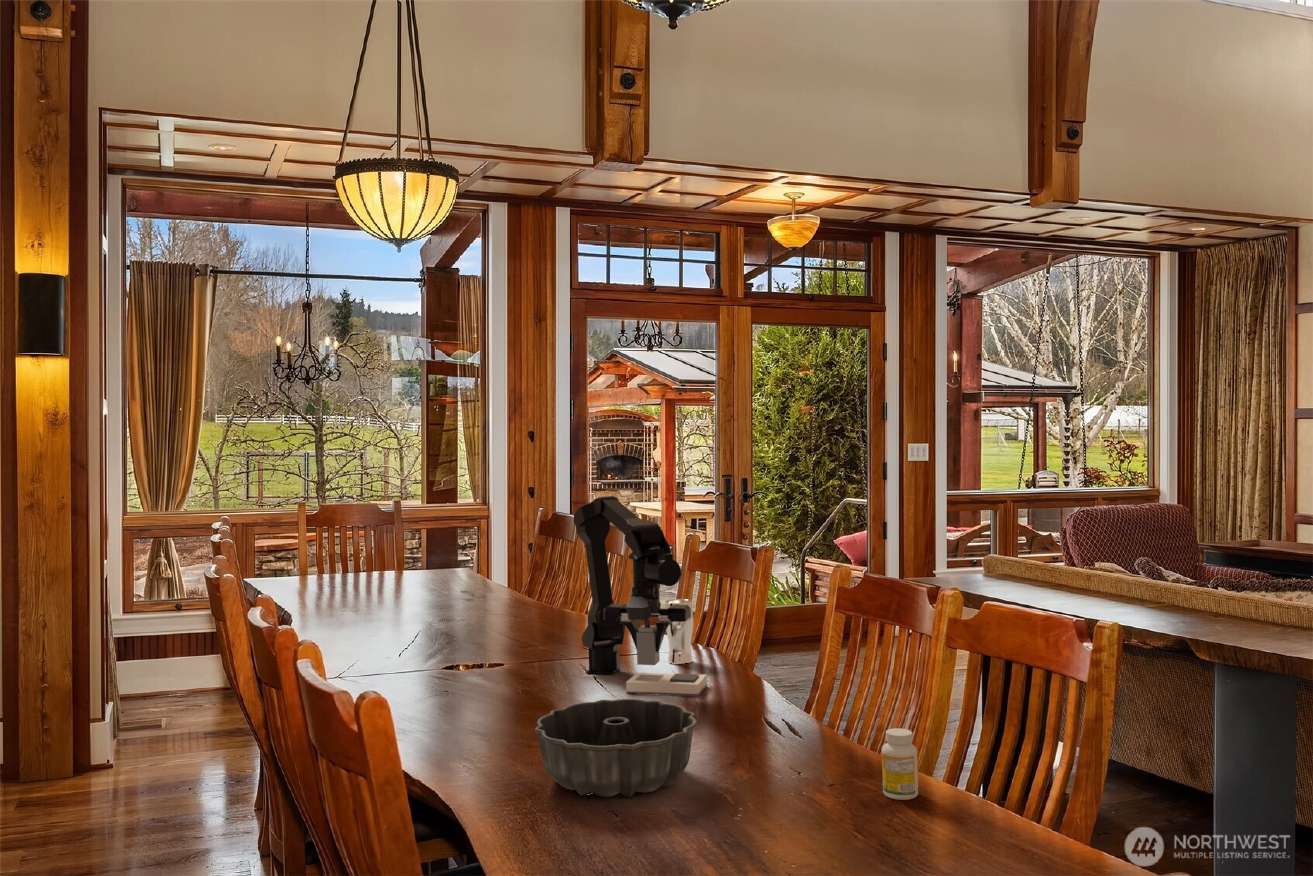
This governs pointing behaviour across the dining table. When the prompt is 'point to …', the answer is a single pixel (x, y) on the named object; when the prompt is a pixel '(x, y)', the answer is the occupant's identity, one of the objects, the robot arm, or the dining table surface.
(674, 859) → the dining table surface
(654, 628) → the plug
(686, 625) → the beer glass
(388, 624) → the dining table surface
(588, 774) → the bundt pan
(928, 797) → the dining table surface
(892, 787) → the supplement bottle
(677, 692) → the beige flat block
